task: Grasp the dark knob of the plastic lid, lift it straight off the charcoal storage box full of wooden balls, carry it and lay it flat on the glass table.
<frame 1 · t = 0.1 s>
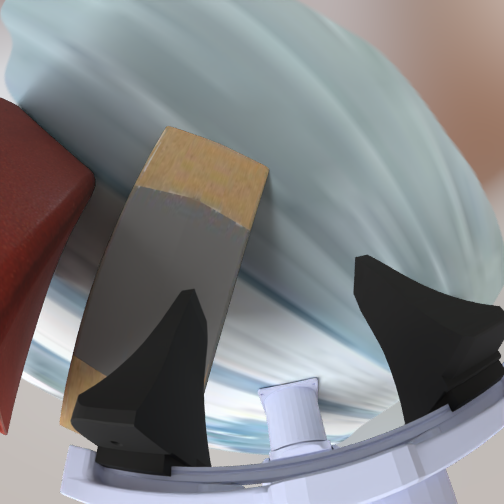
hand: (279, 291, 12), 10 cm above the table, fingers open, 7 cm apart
sandwich container: (182, 231, 21), on the table
plant pot: (25, 192, 18), on the table
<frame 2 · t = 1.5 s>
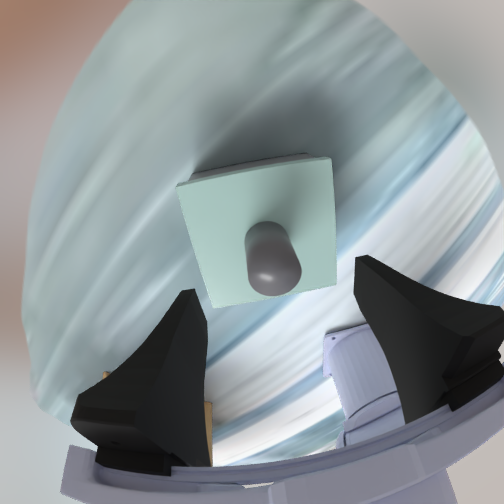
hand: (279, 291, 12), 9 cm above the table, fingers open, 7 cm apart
sandwich container: (152, 399, 32), on the table
lid: (264, 235, 17), point 3 cm above the table, touching box
box: (259, 214, 20), on the table
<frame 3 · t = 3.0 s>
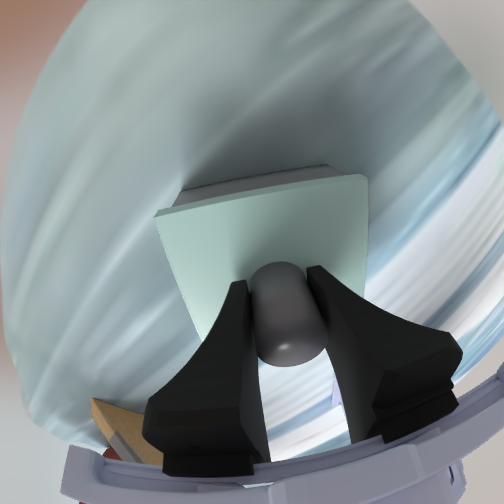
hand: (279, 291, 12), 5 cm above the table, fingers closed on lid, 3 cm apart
sandwich container: (145, 424, 28), on the table
lid: (275, 276, 13), point 3 cm above the table, touching box, gripper
box: (266, 242, 16), on the table
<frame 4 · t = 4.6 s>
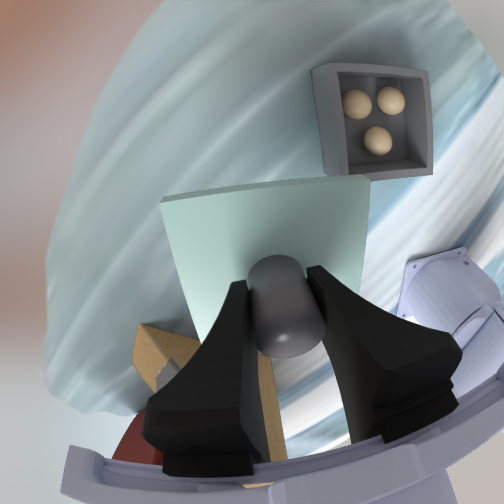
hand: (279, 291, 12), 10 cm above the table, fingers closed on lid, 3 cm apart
sandwich container: (196, 361, 29), on the table
lid: (273, 269, 13), point 9 cm above the table, touching gripper
box: (366, 118, 17), on the table
plant pot: (185, 418, 37), on the table
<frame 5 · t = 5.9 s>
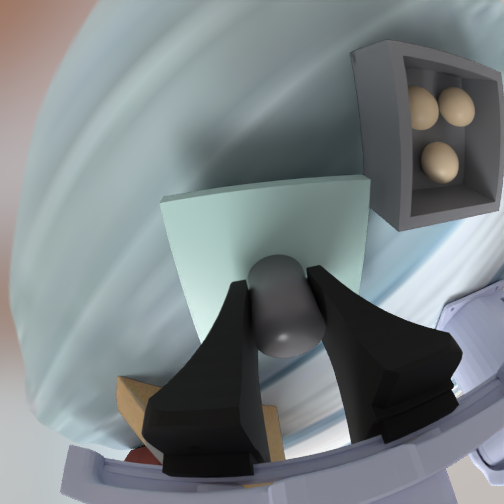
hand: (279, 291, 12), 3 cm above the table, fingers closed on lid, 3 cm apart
sandwich container: (190, 410, 23), on the table
lid: (273, 269, 13), point 2 cm above the table, touching gripper
box: (421, 128, 11), on the table
plant pot: (183, 455, 31), on the table
when the fingers open (3 cm above the table, at t = 6.5 s): lid drops 1 cm, on the table.
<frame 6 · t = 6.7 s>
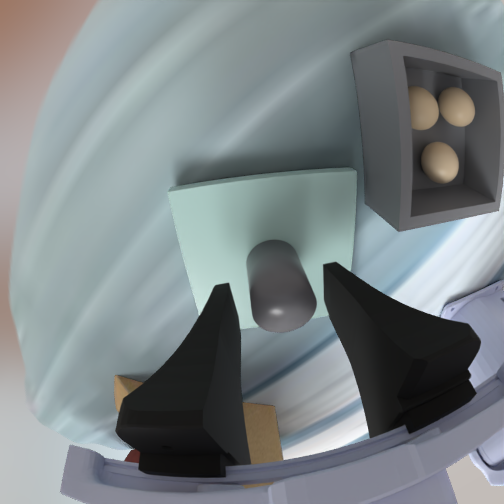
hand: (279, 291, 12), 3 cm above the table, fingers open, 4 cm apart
sandwich container: (188, 409, 23), on the table
lid: (270, 254, 14), on the table
box: (421, 128, 11), on the table
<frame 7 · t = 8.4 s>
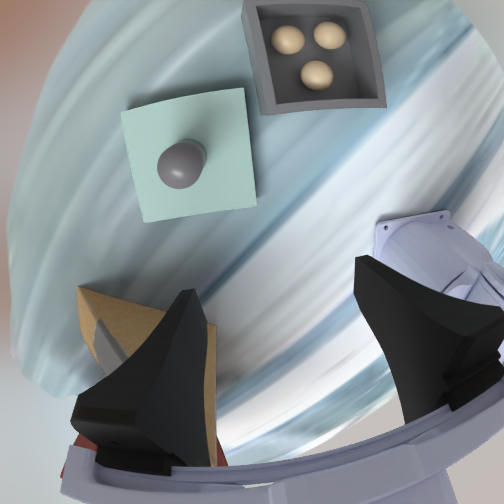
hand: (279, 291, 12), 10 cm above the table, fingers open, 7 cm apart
sandwich container: (140, 330, 27), on the table
lid: (189, 155, 18), on the table
box: (306, 58, 15), on the table
plant pot: (150, 404, 35), on the table
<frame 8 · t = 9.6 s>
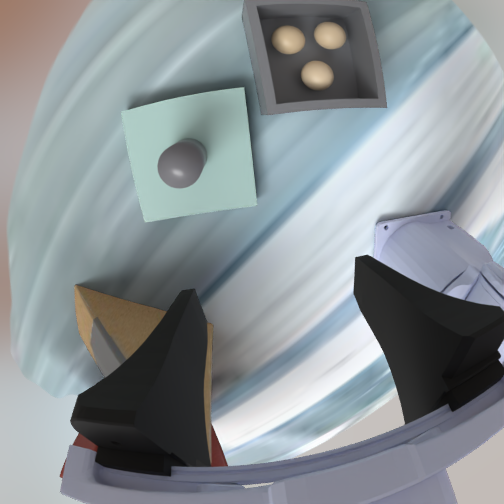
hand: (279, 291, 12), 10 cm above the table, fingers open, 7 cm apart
sandwich container: (137, 329, 27), on the table
lid: (190, 154, 18), on the table
box: (306, 58, 15), on the table
plant pot: (150, 404, 35), on the table
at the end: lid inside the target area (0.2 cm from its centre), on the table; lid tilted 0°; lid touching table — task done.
